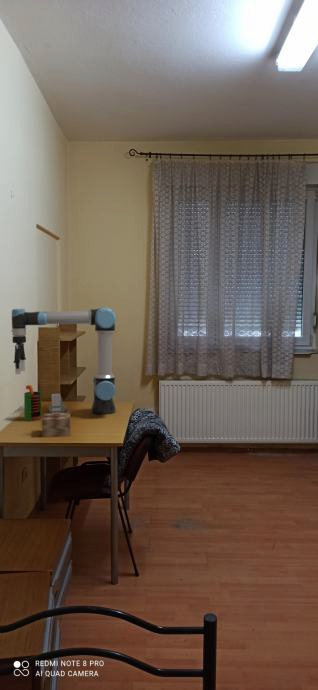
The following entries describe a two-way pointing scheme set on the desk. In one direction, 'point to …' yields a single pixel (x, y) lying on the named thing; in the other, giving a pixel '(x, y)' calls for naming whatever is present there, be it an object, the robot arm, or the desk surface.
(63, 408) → the air freshener
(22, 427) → the desk surface
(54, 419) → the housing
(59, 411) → the column
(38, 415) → the motor
